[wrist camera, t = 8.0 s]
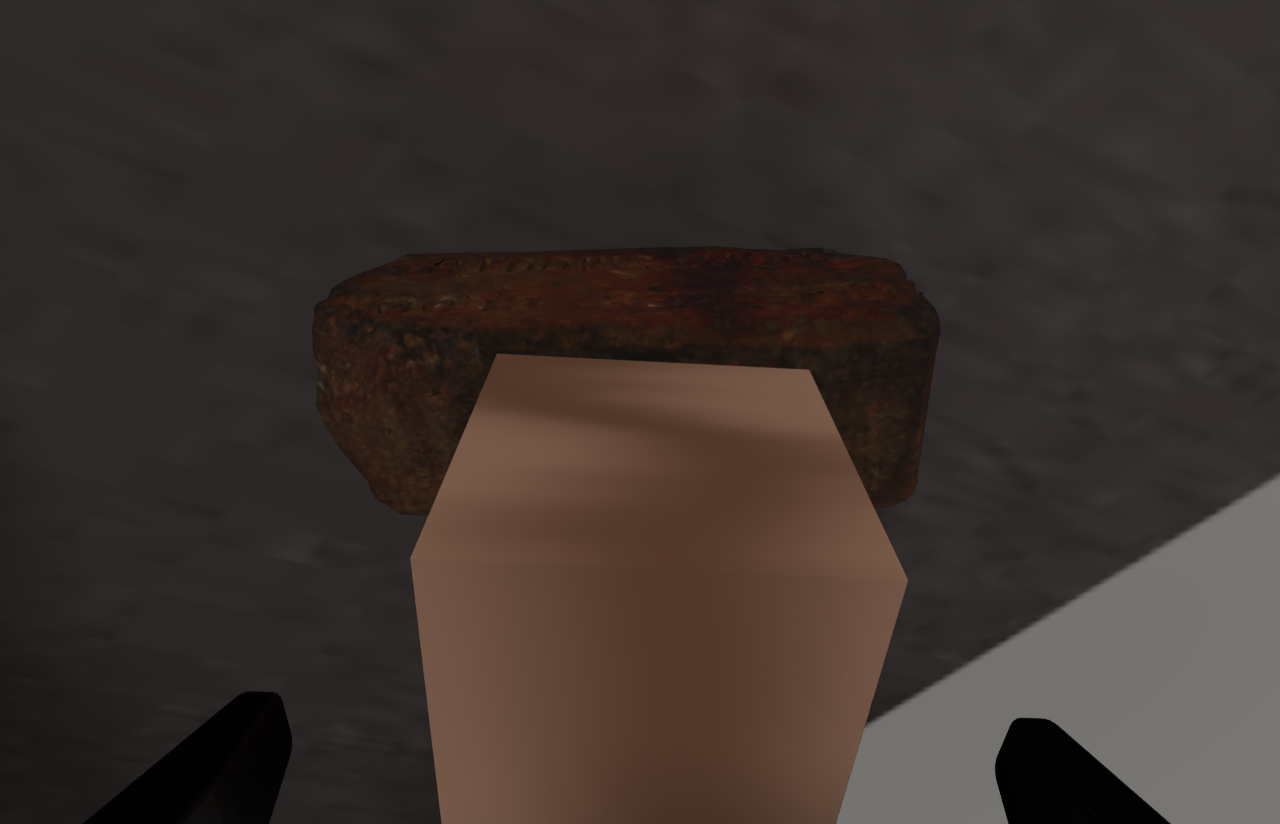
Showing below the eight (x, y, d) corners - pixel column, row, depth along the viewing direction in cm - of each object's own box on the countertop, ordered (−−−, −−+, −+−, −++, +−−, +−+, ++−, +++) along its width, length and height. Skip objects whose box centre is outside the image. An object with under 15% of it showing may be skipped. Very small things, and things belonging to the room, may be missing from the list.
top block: (506, 592, 14) (445, 855, 10) (497, 353, 12) (410, 557, 7) (766, 604, 14) (822, 868, 10) (809, 369, 12) (908, 580, 7)
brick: (873, 231, 15) (956, 310, 11) (853, 398, 17) (918, 519, 13) (370, 245, 16) (274, 329, 12) (405, 409, 18) (332, 532, 13)
